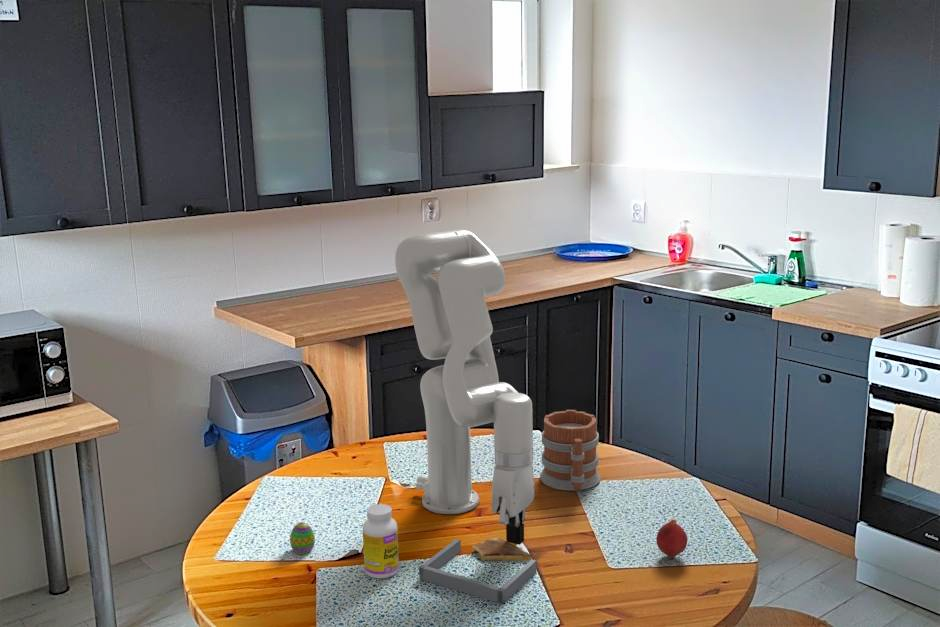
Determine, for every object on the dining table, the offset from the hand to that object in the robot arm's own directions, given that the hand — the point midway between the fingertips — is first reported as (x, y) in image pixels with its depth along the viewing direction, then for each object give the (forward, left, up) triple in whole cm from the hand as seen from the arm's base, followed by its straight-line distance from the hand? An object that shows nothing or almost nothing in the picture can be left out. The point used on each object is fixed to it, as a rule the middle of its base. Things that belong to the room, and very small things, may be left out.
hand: (515, 541), depth 192 cm
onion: (+29, +11, -1) cm, 31 cm away
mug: (-3, +33, -1) cm, 33 cm away
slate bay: (0, -13, -1) cm, 13 cm away
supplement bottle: (-17, -21, -1) cm, 28 cm away
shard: (-1, -3, -2) cm, 4 cm away
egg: (-36, -22, -1) cm, 43 cm away
